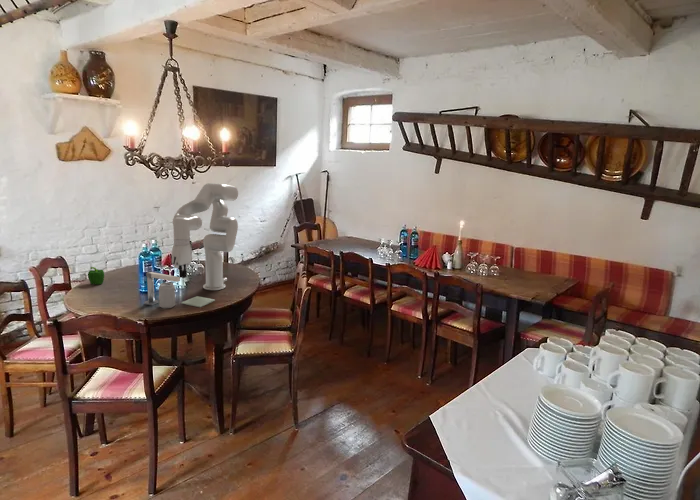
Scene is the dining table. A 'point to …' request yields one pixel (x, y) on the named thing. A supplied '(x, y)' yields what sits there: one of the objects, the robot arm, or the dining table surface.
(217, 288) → the robot arm
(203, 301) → the pad
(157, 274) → the light grey bar
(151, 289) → the post
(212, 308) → the dining table surface
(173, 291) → the can
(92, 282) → the bell pepper
